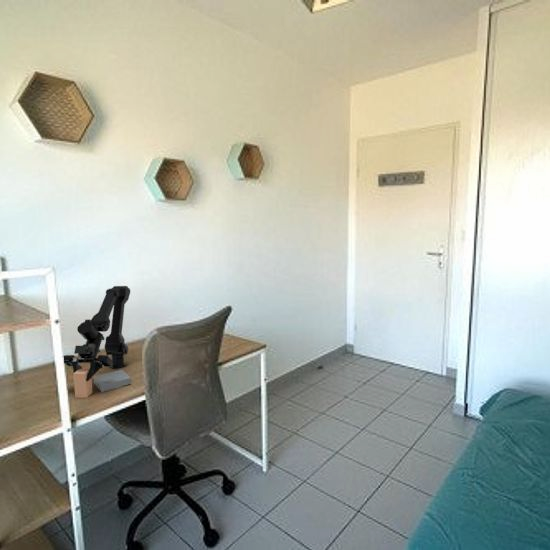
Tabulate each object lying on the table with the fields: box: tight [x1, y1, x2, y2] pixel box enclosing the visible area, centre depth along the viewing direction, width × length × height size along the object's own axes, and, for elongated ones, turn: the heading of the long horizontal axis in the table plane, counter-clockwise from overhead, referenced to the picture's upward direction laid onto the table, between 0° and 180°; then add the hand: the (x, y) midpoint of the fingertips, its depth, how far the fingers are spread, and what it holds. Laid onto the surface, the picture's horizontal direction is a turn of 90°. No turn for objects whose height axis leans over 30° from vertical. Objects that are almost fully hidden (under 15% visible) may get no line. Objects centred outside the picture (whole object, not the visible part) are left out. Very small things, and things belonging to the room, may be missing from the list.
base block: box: [93, 369, 132, 393], centre depth 166 cm, size 12×12×3 cm
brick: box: [72, 368, 93, 399], centre depth 155 cm, size 5×5×10 cm
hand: (80, 380), depth 153 cm, fingers closed on brick, 5 cm apart
